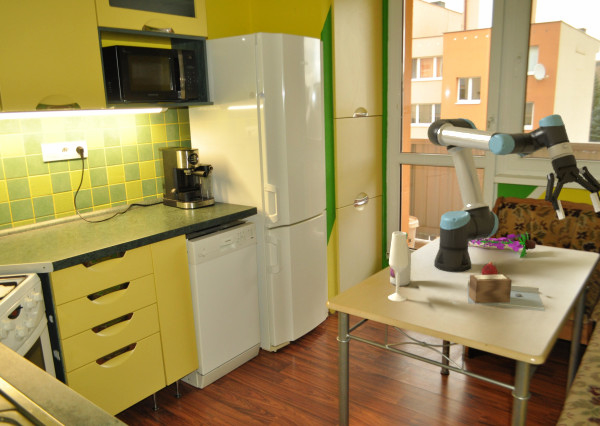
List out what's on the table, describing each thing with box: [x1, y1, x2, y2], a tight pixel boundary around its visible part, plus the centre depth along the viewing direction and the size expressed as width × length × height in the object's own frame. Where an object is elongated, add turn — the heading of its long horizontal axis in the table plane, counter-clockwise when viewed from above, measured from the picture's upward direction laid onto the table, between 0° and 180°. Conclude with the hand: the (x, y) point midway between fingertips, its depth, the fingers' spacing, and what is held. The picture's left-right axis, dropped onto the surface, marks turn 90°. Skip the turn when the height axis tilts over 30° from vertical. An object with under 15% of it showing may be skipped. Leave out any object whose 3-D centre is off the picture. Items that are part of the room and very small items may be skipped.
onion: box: [481, 261, 499, 275], centre depth 193 cm, size 6×6×8 cm
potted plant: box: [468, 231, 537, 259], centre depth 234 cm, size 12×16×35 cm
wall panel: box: [467, 279, 546, 312], centre depth 174 cm, size 24×18×3 cm
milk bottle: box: [389, 232, 412, 287], centre depth 191 cm, size 8×8×20 cm
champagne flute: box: [387, 231, 408, 302], centre depth 176 cm, size 7×7×24 cm
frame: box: [469, 273, 512, 303], centre depth 172 cm, size 12×6×8 cm, turn 92°
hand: (580, 215), depth 171 cm, fingers open, 13 cm apart
